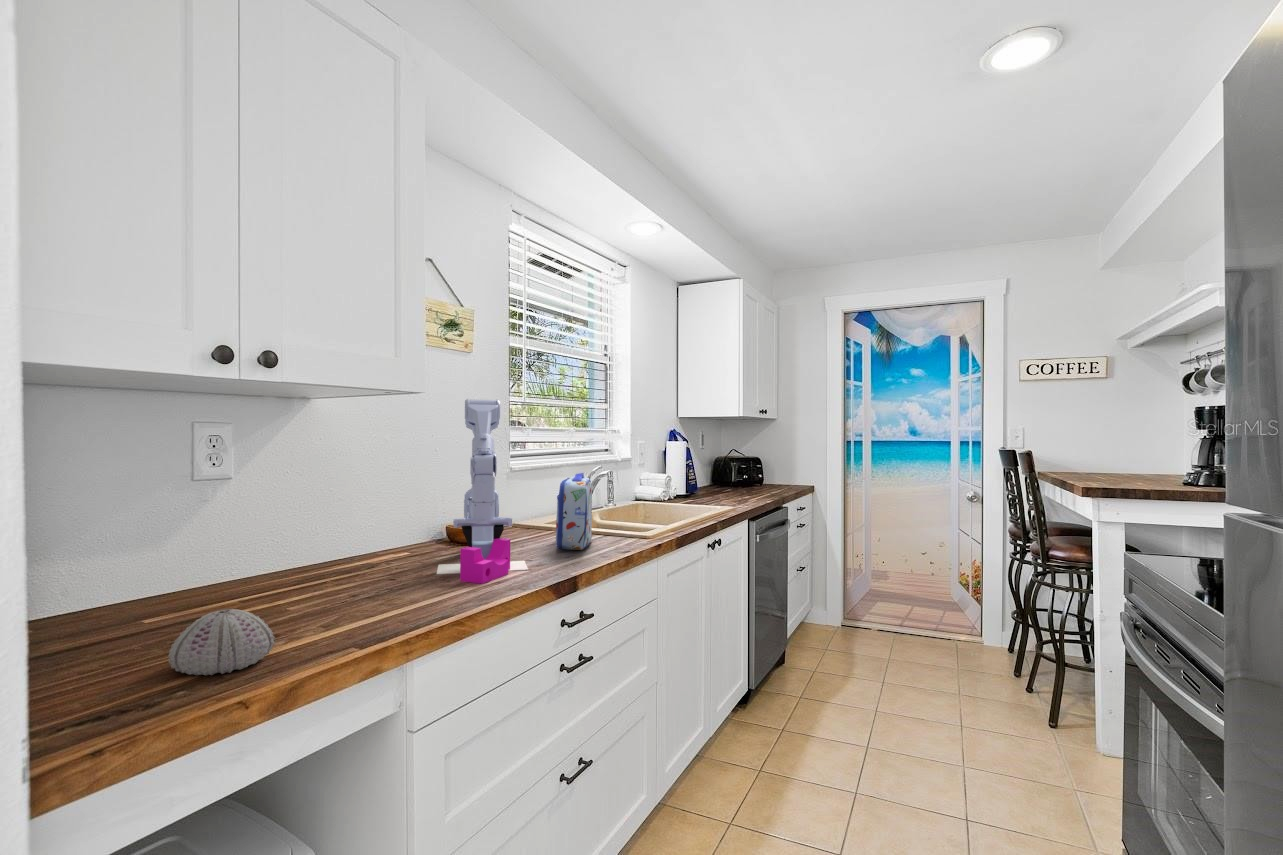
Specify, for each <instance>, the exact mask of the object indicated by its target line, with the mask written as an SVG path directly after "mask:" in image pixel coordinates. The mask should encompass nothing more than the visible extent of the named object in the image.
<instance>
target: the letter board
mask: <svg viewBox="0 0 1283 855" xmlns="http://www.w3.org/2000/svg"><path fill="white" fill-rule="evenodd" d="M436 569H437V570H436V575H453V574H460V563H446V564H445V563H444V564H443V563H442V564H438V565H437V568H436ZM516 571H529V569H528V566H527V564H526V561H525V560H512V561H511V560H510V569H509V570H508V572H516Z"/></svg>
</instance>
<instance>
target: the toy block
mask: <svg viewBox="0 0 1283 855" xmlns="http://www.w3.org/2000/svg"><path fill="white" fill-rule="evenodd" d="M459 558H460V559H459V561H460V562H459V564H460V573H459V574H460V575H459V576H460V578H459V581H460V582H466V583H474V584H480V583H481V584H482V585H483V584H486V583H488V582H491V581H494V580H497V579H498V578H502V577H504V576H507V575H509V571H508V570H509V569H510V561H511V538H502V537H500V538H496V539H493V544H492V548H491V551H490V553H489V555H488V556H487V558H486V559H485V560H484V558H483V556H482V552H481V548H475V547H468V546H466V547H463V548H460V556H459ZM481 584H480V585H481Z"/></svg>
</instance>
